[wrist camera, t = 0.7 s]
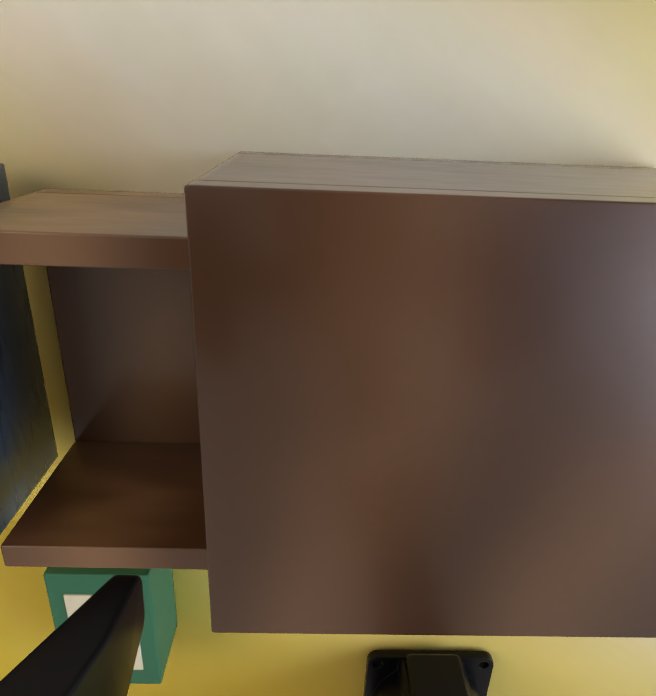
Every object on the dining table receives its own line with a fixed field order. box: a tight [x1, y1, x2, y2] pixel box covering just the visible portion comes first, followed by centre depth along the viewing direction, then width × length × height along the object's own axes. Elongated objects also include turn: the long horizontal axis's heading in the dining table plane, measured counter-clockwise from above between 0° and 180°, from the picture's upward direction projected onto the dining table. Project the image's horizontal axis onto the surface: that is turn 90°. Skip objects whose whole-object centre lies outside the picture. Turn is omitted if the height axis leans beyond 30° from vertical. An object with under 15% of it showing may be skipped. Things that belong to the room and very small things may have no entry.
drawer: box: [0, 163, 208, 569], centre depth 17 cm, size 17×11×7 cm, turn 88°
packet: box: [44, 567, 177, 684], centre depth 25 cm, size 6×4×3 cm, turn 178°
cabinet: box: [184, 152, 656, 638], centre depth 18 cm, size 15×13×9 cm
